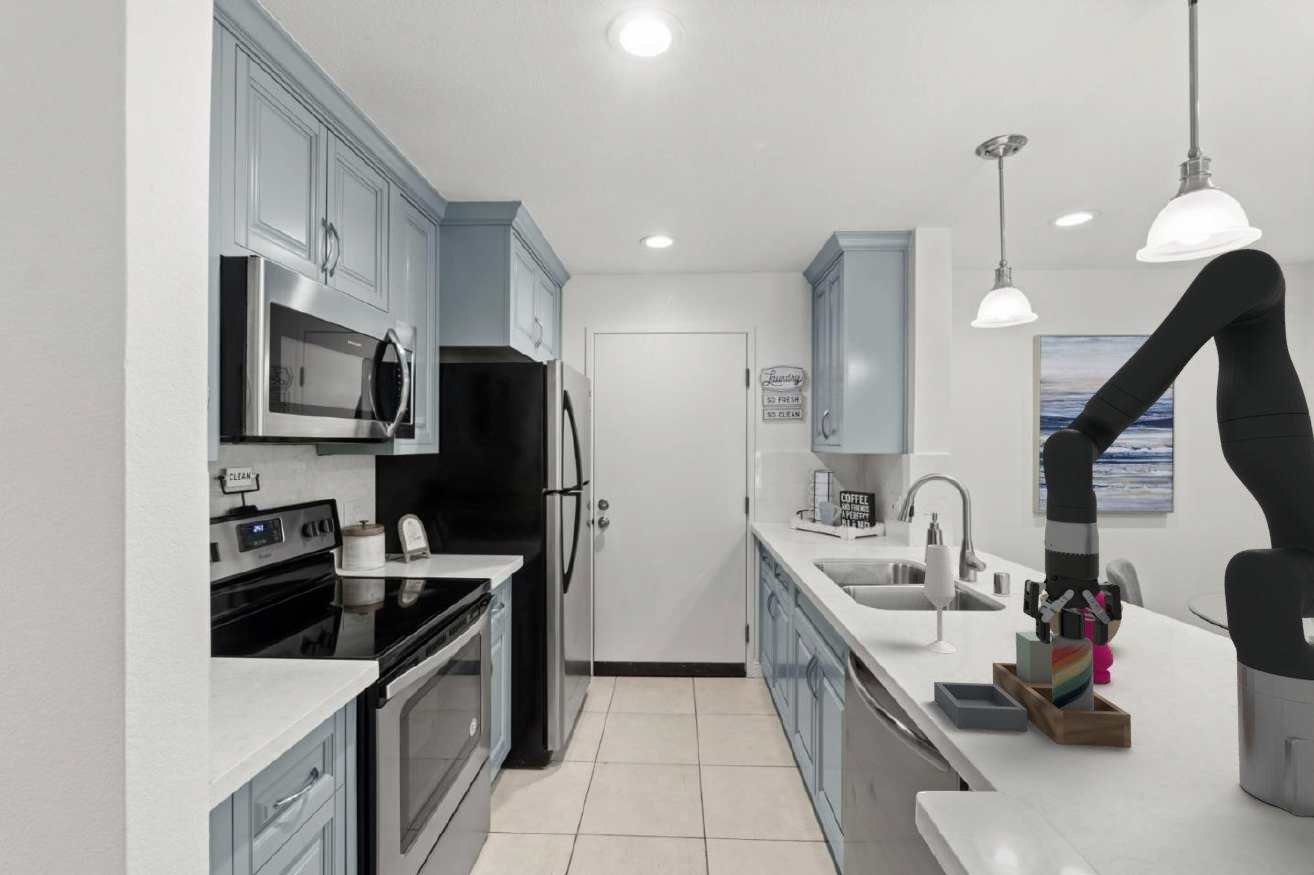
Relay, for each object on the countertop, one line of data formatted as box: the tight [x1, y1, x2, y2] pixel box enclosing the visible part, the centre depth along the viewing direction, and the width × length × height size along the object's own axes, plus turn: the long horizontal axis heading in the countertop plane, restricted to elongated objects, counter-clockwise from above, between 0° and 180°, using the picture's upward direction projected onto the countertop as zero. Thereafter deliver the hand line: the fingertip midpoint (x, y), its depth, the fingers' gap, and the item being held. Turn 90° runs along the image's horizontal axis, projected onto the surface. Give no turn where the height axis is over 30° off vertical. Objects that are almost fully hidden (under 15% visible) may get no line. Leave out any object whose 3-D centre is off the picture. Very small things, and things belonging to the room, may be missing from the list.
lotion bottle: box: [1051, 608, 1094, 711], centre depth 100 cm, size 6×6×20 cm
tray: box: [933, 681, 1028, 732], centre depth 105 cm, size 11×11×4 cm
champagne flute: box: [923, 544, 957, 654], centre depth 140 cm, size 7×7×24 cm
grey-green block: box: [1015, 631, 1052, 684], centre depth 111 cm, size 5×5×12 cm
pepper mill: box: [1077, 591, 1114, 685], centre depth 122 cm, size 7×7×20 cm
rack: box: [992, 662, 1132, 748], centre depth 105 cm, size 22×11×5 cm, turn 174°
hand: (1071, 643), depth 100 cm, fingers open, 8 cm apart
